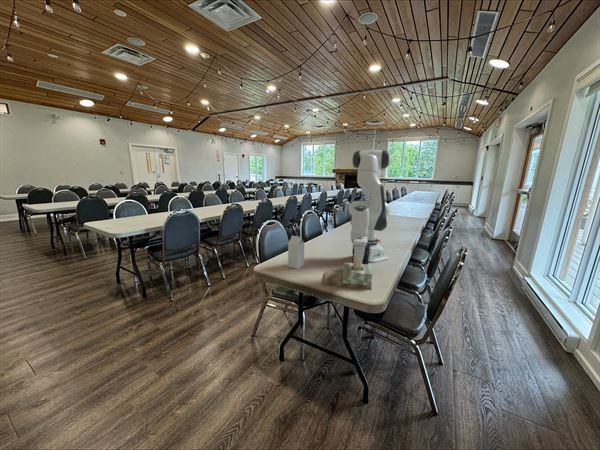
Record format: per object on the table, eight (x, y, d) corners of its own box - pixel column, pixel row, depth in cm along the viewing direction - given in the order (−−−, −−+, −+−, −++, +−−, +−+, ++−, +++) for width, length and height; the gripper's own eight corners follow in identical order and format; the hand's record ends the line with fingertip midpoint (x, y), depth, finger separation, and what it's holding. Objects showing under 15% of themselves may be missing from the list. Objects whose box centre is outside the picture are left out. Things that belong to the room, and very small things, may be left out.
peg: (357, 276, 135) (359, 251, 132) (362, 279, 131) (364, 254, 128) (350, 277, 133) (352, 252, 130) (355, 281, 129) (357, 255, 126)
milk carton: (297, 269, 148) (298, 238, 144) (288, 266, 152) (288, 236, 148) (303, 265, 154) (304, 236, 150) (294, 263, 158) (294, 234, 154)
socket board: (368, 276, 139) (369, 264, 137) (371, 289, 123) (372, 275, 122) (325, 273, 143) (326, 260, 142) (323, 284, 128) (323, 270, 126)
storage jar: (348, 267, 152) (349, 243, 149) (362, 266, 155) (364, 242, 152) (356, 273, 143) (358, 248, 140) (371, 272, 146) (373, 247, 143)
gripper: (352, 232, 138) (351, 256, 141) (353, 242, 118) (351, 269, 121) (364, 233, 137) (362, 257, 140) (366, 243, 117) (364, 271, 120)
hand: (357, 263), depth 130 cm, fingers open, 8 cm apart
